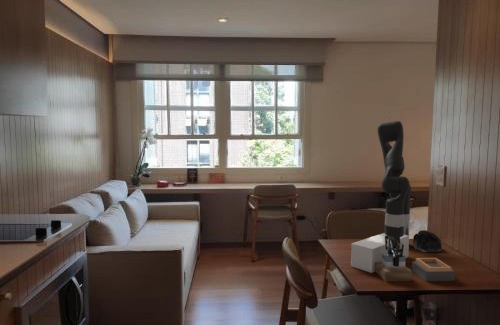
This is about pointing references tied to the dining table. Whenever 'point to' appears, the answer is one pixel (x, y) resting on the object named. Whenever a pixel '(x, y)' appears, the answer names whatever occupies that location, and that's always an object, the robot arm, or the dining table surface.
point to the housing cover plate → (391, 257)
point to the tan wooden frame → (433, 269)
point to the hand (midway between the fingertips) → (393, 263)
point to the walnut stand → (393, 273)
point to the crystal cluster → (427, 242)
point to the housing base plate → (390, 265)
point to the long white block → (372, 251)
